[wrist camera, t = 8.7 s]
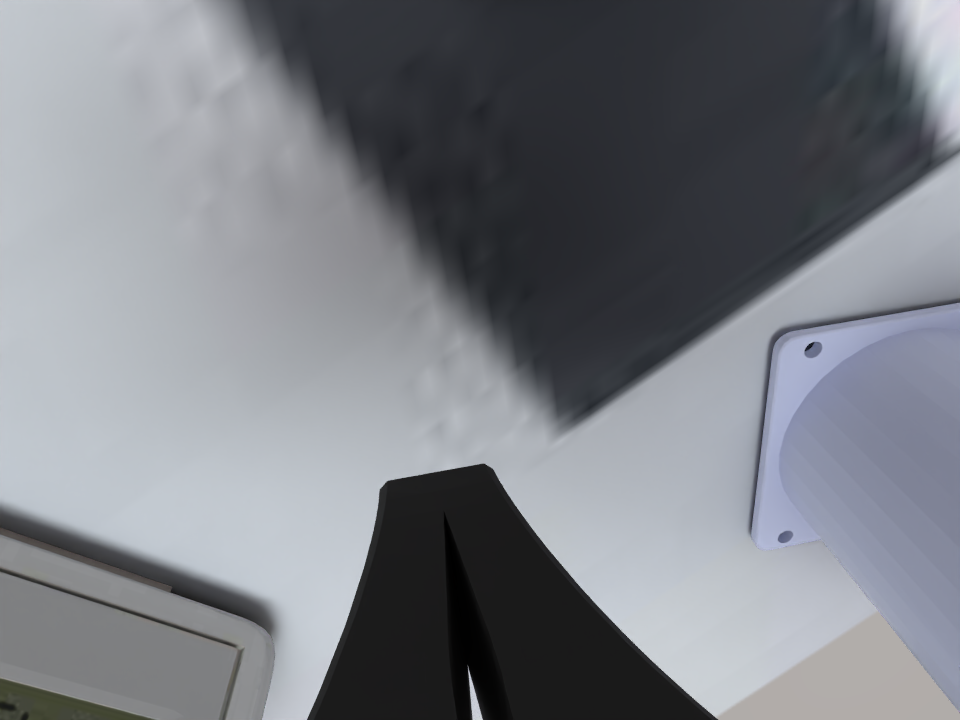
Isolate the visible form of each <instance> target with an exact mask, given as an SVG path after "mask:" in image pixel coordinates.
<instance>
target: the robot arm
mask: <svg viewBox="0 0 960 720" xmlns="http://www.w3.org/2000/svg"><path fill="white" fill-rule="evenodd" d="M812 342H814V344H813V346H812V347H811V348H810V349H809V350H807V351H805V348H806V347H807V346H808V345H809V344H810V343H812ZM782 532H783V533H782ZM751 538H752V541H753V542H754V543H755V545H756V546H757V547H758V548H759V549H761V550H772V549H777V548H782V547H787V546H792V545H797V544H802V543H807V542H812V541H817V540H822V541H823V542H824V544H825V545H826V546H827V547H828V549H829V550H830V551H831V552H832V554H833V555H834V556H835V557H836V559H837V560H838V561H839V562H840V564H841V565H842V566H843V567H844V569H845V570H846V571H847V572H848V574H849V575H850V576H851V577H852V579H853V580H854V581H855V582H856V584H857V585H858V586H859V587H860V589H861V590H862V591H863V592H864V594H865V595H866V596H867V597H868V599H869V600H870V601H871V602H872V604H873V605H874V606H875V607H876V609H877V610H878V611H879V612H880V614H881V615H882V616H883V617H884V619H885V620H886V621H887V622H888V624H889V625H890V626H891V627H892V629H893V630H894V631H895V633H896V634H897V635H898V636H899V638H900V639H901V640H902V641H903V642H904V644H905V645H906V646H907V647H908V649H909V650H910V651H911V653H912V654H913V655H914V656H915V657H916V659H917V660H918V661H919V663H920V664H921V665H922V666H923V667H924V669H925V670H926V671H927V673H928V674H929V675H930V676H931V677H932V679H933V680H934V681H935V682H936V684H937V685H938V686H939V688H940V689H941V690H942V691H943V693H944V694H945V695H946V696H947V698H948V699H949V700H950V701H951V703H952V704H953V705H954V706H955V708H956V709H957V710H958V711H959V713H960V303H955V304H949V305H943V306H937V307H932V308H926V309H920V310H914V311H908V312H902V313H896V314H891V315H885V316H879V317H873V318H867V319H861V320H855V321H849V322H844V323H838V324H832V325H826V326H820V327H814V328H808V329H803V330H797V331H791V332H788V333H786V334H784V335H783V336H781V337H780V338H779V339H778V340H777V342H776V343H775V345H774V348H773V354H772V362H771V371H770V379H769V388H768V396H767V405H766V413H765V422H764V430H763V439H762V447H761V455H760V464H759V472H758V481H757V489H756V498H755V506H754V515H753V523H752V532H751ZM468 667H469V671H470V675H471V678H472V682H473V685H474V689H475V693H476V696H477V700H478V703H479V707H480V711H481V714H482V718H483V720H718V719H717V718H715V717H714V716H713V715H712V714H711V713H709V712H708V711H707V710H706V709H705V708H704V707H702V706H701V705H700V704H699V703H698V702H696V701H695V700H694V699H693V698H692V697H691V696H690V695H689V694H687V693H686V692H685V691H684V690H683V689H682V688H681V687H680V686H679V685H677V684H676V683H675V682H674V681H673V680H672V679H671V678H670V677H669V676H668V675H666V674H665V673H664V672H663V671H662V670H661V669H660V668H659V667H658V666H657V665H656V664H655V663H653V662H652V661H651V660H650V659H649V658H648V657H647V656H646V655H645V654H644V653H643V652H642V651H641V650H640V649H639V648H638V647H637V646H636V645H635V644H634V643H633V642H632V641H631V640H630V639H629V638H628V637H627V636H626V635H625V634H624V633H623V632H622V631H621V630H620V629H619V628H618V627H617V626H616V625H615V624H614V623H613V622H612V621H611V620H610V619H609V618H608V616H607V615H606V614H605V613H604V612H603V611H602V610H601V609H600V608H599V607H598V606H597V605H596V604H595V603H594V602H593V601H592V600H591V598H590V597H589V596H588V595H587V594H586V593H585V592H584V591H583V590H582V588H581V587H580V586H579V585H578V584H577V583H576V582H575V580H574V579H573V578H572V577H571V576H570V575H569V573H568V572H567V571H566V570H565V569H564V567H563V566H562V565H561V564H560V563H559V562H558V560H557V559H556V558H555V557H554V556H553V554H552V553H551V552H550V551H549V550H548V548H547V547H546V546H545V545H544V543H543V542H542V541H541V540H540V538H539V537H538V536H537V535H536V533H535V532H534V531H533V529H532V528H531V527H530V525H529V524H528V522H527V521H526V520H525V518H524V517H523V516H522V514H521V513H520V512H519V510H518V509H517V507H516V506H515V504H514V503H513V502H512V500H511V499H510V497H509V495H508V494H507V492H506V491H505V489H504V488H503V486H502V484H501V483H500V481H499V479H498V477H497V476H496V474H495V472H494V470H493V469H492V468H490V467H489V466H487V465H486V464H479V465H473V466H468V467H462V468H456V469H451V470H445V471H440V472H434V473H429V474H423V475H418V476H412V477H407V478H401V479H396V480H390V481H387V482H386V483H385V484H384V486H383V487H382V488H381V489H380V493H379V504H378V511H377V516H376V522H375V527H374V531H373V536H372V540H371V544H370V547H369V551H368V555H367V559H366V563H365V566H364V569H363V573H362V576H361V579H360V582H359V585H358V588H357V591H356V595H355V598H354V601H353V604H352V607H351V610H350V613H349V616H348V619H347V622H346V625H345V628H344V630H343V633H342V636H341V638H340V641H339V643H338V646H337V648H336V651H335V653H334V656H333V658H332V661H331V664H330V666H329V669H328V671H327V674H326V676H325V679H324V681H323V684H322V686H321V689H320V691H319V694H318V696H317V698H316V701H315V703H314V705H313V708H312V710H311V712H310V714H309V717H308V719H307V720H472V710H471V698H470V686H469V675H468Z"/></svg>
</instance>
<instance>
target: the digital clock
mask: <svg viewBox="0 0 960 720" xmlns="http://www.w3.org/2000/svg"><path fill="white" fill-rule="evenodd" d="M171 590H172V587H171V586H168V585H165V584H162V583H160V582H157V581H154V580H151V579H148V578H145V577H142V576H139V575H136V574H134V573H131V572H128V571H125V570H122V569H119V568H116V567H113V566H110V565H107V564H105V563H102V562H99V561H96V560H93V559H90V558H87V557H84V556H81V555H78V554H76V553H73V552H70V551H67V550H64V549H61V548H58V547H55V546H52V545H49V544H47V543H44V542H41V541H38V540H35V539H32V538H29V537H26V536H23V535H21V534H18V533H15V532H12V531H9V530H6V529H3V528H0V720H262V716H263V712H264V708H265V704H266V700H267V695H268V691H269V687H270V683H271V678H272V673H273V667H274V658H275V650H274V643H273V640H272V637H271V636H270V635H269V634H268V633H267V631H266V630H265V629H264V628H262V627H261V626H259V625H258V624H256V623H255V622H252V621H250V620H247V619H245V618H243V617H240V616H237V615H234V614H231V613H229V612H226V611H223V610H220V609H217V608H214V607H211V606H208V605H205V604H202V603H199V602H196V601H193V600H190V599H188V598H185V597H182V596H179V595H176V594H173V593H171Z"/></svg>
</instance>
